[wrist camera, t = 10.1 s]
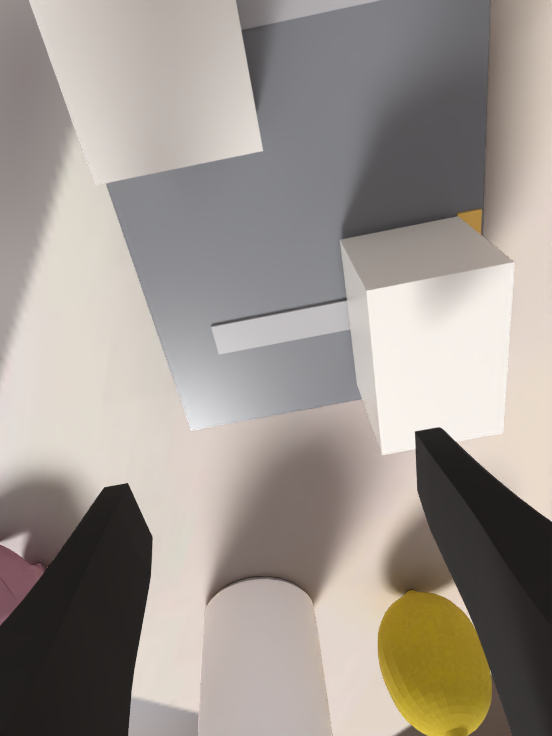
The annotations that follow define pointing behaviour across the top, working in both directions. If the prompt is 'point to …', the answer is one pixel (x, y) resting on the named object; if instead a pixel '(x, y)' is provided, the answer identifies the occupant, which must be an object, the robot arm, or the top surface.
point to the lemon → (434, 665)
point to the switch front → (151, 82)
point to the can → (262, 663)
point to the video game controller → (15, 580)
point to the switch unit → (308, 195)
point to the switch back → (429, 330)
